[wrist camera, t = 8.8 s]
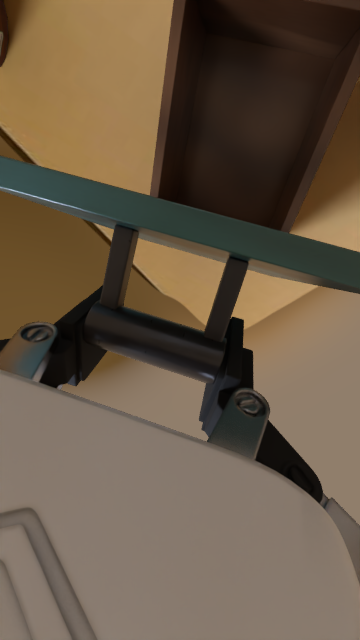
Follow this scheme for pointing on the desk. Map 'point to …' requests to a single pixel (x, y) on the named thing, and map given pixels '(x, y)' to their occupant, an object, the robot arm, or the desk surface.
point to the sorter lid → (183, 234)
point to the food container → (3, 32)
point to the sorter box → (252, 103)
